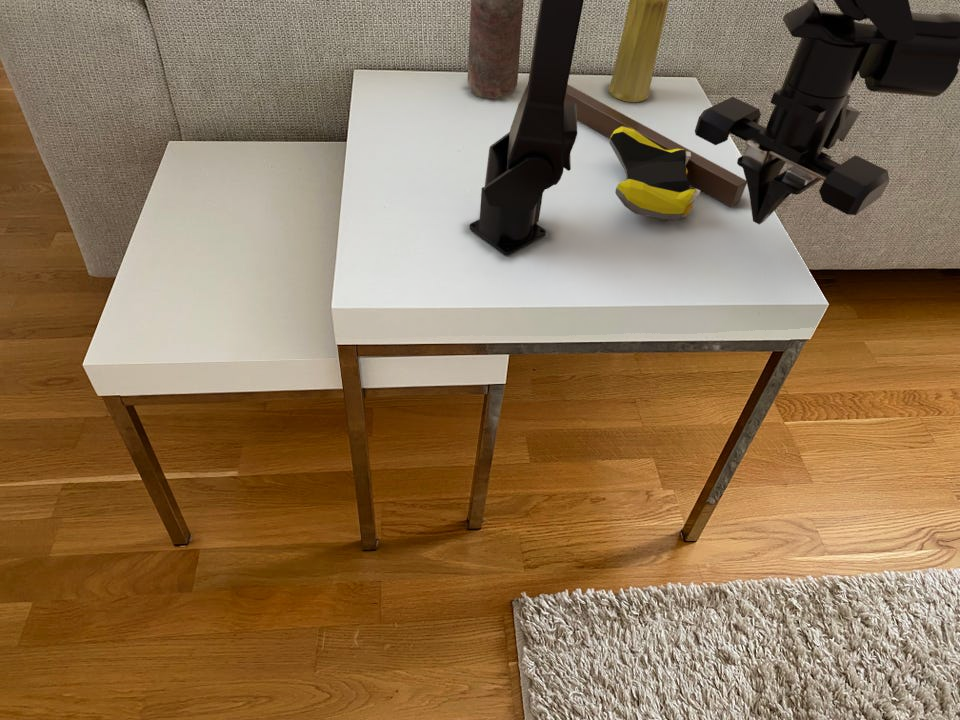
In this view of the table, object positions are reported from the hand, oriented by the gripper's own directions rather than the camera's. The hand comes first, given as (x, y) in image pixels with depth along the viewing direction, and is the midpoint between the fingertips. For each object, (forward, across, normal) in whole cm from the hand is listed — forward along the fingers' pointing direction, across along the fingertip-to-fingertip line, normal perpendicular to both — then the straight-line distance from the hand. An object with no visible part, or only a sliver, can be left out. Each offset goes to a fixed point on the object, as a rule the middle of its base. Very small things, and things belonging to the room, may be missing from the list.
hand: (758, 221), depth 77 cm
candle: (+5, +46, -3) cm, 47 cm away
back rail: (+5, +23, -8) cm, 25 cm away
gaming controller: (+5, +14, 0) cm, 15 cm away
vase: (+5, +34, -19) cm, 39 cm away
